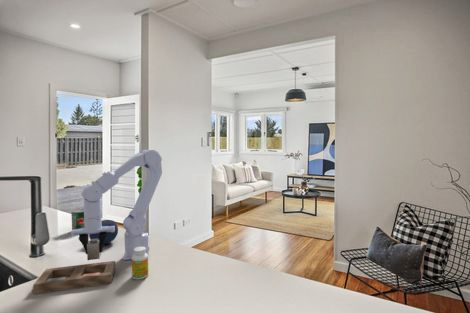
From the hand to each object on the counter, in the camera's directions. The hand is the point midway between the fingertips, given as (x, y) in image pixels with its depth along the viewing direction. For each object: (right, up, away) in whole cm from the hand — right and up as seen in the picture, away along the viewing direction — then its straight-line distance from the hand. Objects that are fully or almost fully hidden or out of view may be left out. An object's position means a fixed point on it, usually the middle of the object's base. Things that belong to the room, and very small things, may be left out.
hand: (94, 252), depth 105 cm
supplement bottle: (+20, -6, -8) cm, 23 cm away
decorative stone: (-7, -4, +22) cm, 23 cm away
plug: (0, -2, 0) cm, 2 cm away
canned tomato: (-28, -3, +41) cm, 50 cm away
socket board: (0, -6, -11) cm, 13 cm away
